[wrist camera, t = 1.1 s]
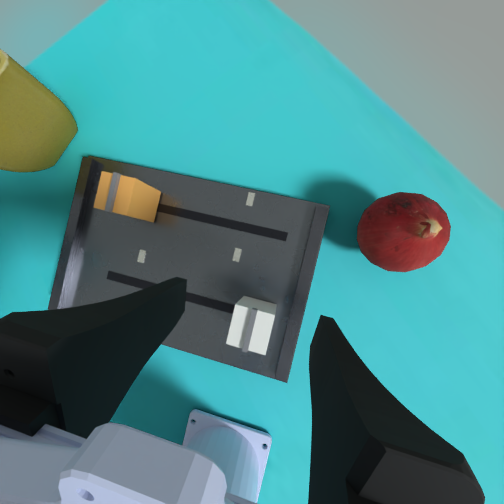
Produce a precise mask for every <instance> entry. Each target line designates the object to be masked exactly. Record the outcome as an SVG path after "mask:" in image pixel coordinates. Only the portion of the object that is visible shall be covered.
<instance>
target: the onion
mask: <svg viewBox="0 0 504 504" xmlns="http://www.w3.org/2000/svg"><path fill="white" fill-rule="evenodd" d="M450 228H451V226H450V223H449V220H448V217H447V213H446V212H445V211H444V210H443V209H442V208H441V206H440V205H439V204H438V203H437V202H435V201H434V200H432V199H430V198H428V197H426V196H424V195H422V194H416V193H405V192H399V193H395V194H391V195H388V196H385V197H382V198H379V199H377V200H376V201H375V202H374V203H372V204H371V205H370V206H369V207H368V208H367V209H366V210H365V211H364V212H363V214H362V217H361V219H360V221H359V224H358V228H357V241H358V244H359V247H360V250H361V252H362V253H363V255H364V256H365V257H366V258H367V259H368V260H369V261H370V262H371V263H373V264H374V265H377V266H379V267H380V268H382V269H385V270H387V271H395V272H407V271H411V270H415V269H418V268H421V267H425V266H426V265H428V264H429V263H431V262H432V261H433V260H435V259H436V258H437V257H439V256H440V255H441V253H442V252H443V250H444V248H445V246H446V245H447V243H448V241H449V237H450Z"/></svg>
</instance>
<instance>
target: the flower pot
mask: <svg viewBox="0 0 504 504" xmlns="http://www.w3.org/2000/svg"><path fill="white" fill-rule="evenodd" d="M77 131H78V128H77V124H76V122H75V120H74V118H73V116H72V114H71V112H70V111H69V110H68V108H67V107H66V106H65V105H64V104H63V102H62V101H61V100H60V99H59V98H58V97H57V96H56V95H54V94H53V93H52V92H51V91H50V90H49V89H47V88H46V87H45V86H44V85H43V84H42V83H40V82H39V81H38V80H37V79H36V78H34V77H33V76H32V75H31V74H30V73H29V72H28V71H26V70H25V69H24V68H23V67H22V66H20V65H19V64H18V63H17V62H16V61H14V60H13V59H12V58H11V57H10V56H9V55H8V54H6V53H5V52H4V51H2V50H1V49H0V169H1V170H6V171H13V172H35V171H40V170H44V169H47V168H50V167H52V166H54V165H55V164H56V162H57V161H58V159H59V158H60V156H61V155H62V153H63V152H64V150H65V149H66V147H67V146H68V145H69V143H70V142H71V140H72V139H73V137H74V136H75V134H76V133H77Z"/></svg>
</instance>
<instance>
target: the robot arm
mask: <svg viewBox="0 0 504 504" xmlns="http://www.w3.org/2000/svg"><path fill="white" fill-rule="evenodd" d="M186 289H187V279H184V278H180V277H174V278H171V279H168V280H166V281H163V282H161V283H158V284H156V285H153V286H150V287H148V288H145V289H142V290H139V291H137V292H134V293H131V294H128V295H125V296H121V297H118V298H114V299H111V300H107V301H103V302H98V303H93V304H88V305H82V306H77V307H70V308H63V309H54V310H44V311H28V312H12V313H10V314H8V315H6V316H4V317H3V318H1V319H0V504H257V500H258V496H259V492H260V488H261V484H262V480H263V475H264V471H265V467H266V463H267V459H268V455H269V451H270V447H271V442H272V438H271V436H270V434H268V433H265V432H262V431H259V430H256V429H253V428H250V427H247V426H244V425H241V424H238V423H235V422H232V421H230V420H227V419H224V418H221V417H218V416H215V415H212V414H209V413H206V412H203V411H200V410H197V409H194V410H192V411H191V413H190V415H189V419H188V424H187V428H186V432H185V436H184V440H183V444H182V445H179V444H176V443H174V442H171V441H168V440H165V439H163V438H160V437H157V436H154V435H151V434H149V433H146V432H143V431H140V430H138V429H135V428H132V427H129V426H126V425H123V424H117V423H111V422H110V423H109V421H110V420H111V418H112V416H113V415H114V413H115V411H116V409H117V408H118V406H119V404H120V403H121V401H122V399H123V398H124V396H125V395H126V393H127V391H128V390H129V388H130V387H131V385H132V383H133V382H134V380H135V379H136V377H137V376H138V374H139V373H140V371H141V370H142V368H143V367H144V365H145V364H146V362H147V361H148V360H149V358H150V357H151V356H152V355H153V353H154V352H155V351H156V350H157V349H158V347H159V346H160V345H161V344H162V342H163V341H164V340H165V339H166V337H167V336H168V335H169V334H170V332H171V331H172V330H173V329H174V327H175V326H176V325H177V323H178V321H179V320H180V318H181V316H182V315H183V313H184V311H185V302H186ZM309 373H310V389H311V404H312V441H311V464H310V482H309V499H308V504H484V501H485V496H484V493H483V491H482V488H481V486H480V485H479V483H478V481H477V479H476V477H475V475H474V473H473V471H472V470H471V468H470V466H469V464H468V462H467V460H466V458H465V457H464V455H463V454H462V453H461V452H460V451H459V450H457V449H456V448H455V447H453V446H452V445H451V444H449V443H448V442H447V441H445V440H444V439H443V438H442V437H440V436H439V435H438V434H436V433H435V432H434V431H432V430H431V429H430V428H429V427H428V426H426V425H425V424H424V423H423V422H422V421H421V420H419V419H418V418H417V417H416V416H415V415H413V414H412V413H411V412H410V411H409V410H408V409H407V408H406V407H405V406H403V405H402V404H401V403H400V402H399V401H398V400H397V399H396V398H395V397H394V396H393V395H392V394H391V393H390V392H389V391H388V390H387V389H386V388H385V387H384V386H383V385H382V384H381V383H380V381H379V380H378V379H377V378H376V377H375V376H374V375H373V374H372V372H371V371H370V370H369V369H368V368H367V366H366V365H365V364H364V363H363V361H362V360H361V359H360V357H359V356H358V355H357V353H356V352H355V351H354V349H353V348H352V346H351V345H350V344H349V342H348V341H347V339H346V338H345V336H344V334H343V333H342V331H341V330H340V328H339V327H338V325H337V323H336V322H335V320H334V319H333V318H330V317H327V316H323V315H321V316H320V319H319V322H318V325H317V328H316V331H315V334H314V336H313V339H312V342H311V345H310V356H309ZM192 419H194V420H195V421H196V422H193V421H192ZM263 444H267V446H263Z"/></svg>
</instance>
